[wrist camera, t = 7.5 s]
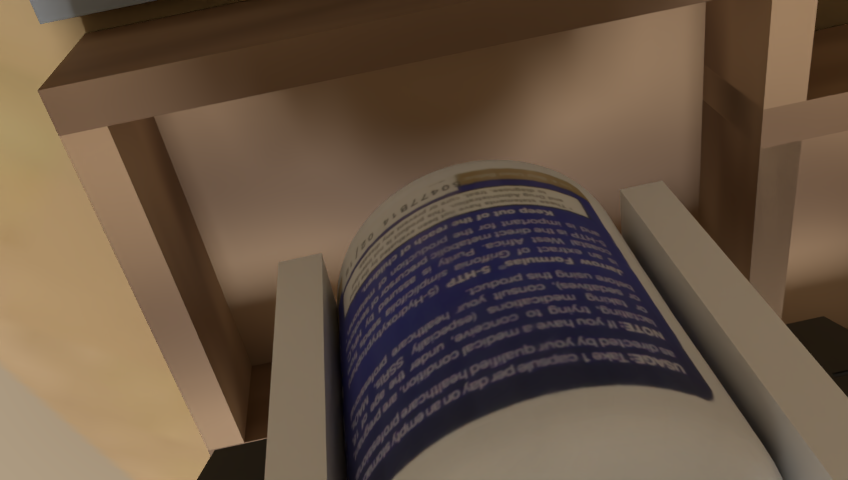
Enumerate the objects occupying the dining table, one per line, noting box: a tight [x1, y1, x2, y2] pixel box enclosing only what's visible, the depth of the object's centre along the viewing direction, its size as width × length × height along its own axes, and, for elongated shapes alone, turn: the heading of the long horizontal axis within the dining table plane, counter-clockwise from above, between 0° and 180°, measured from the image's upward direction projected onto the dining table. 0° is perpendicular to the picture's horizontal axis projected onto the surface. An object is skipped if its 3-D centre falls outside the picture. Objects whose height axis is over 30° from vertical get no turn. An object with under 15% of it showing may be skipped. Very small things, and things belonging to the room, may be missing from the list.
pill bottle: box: [337, 160, 783, 480], centre depth 10 cm, size 5×5×9 cm
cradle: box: [38, 0, 818, 456], centre depth 16 cm, size 9×13×3 cm
